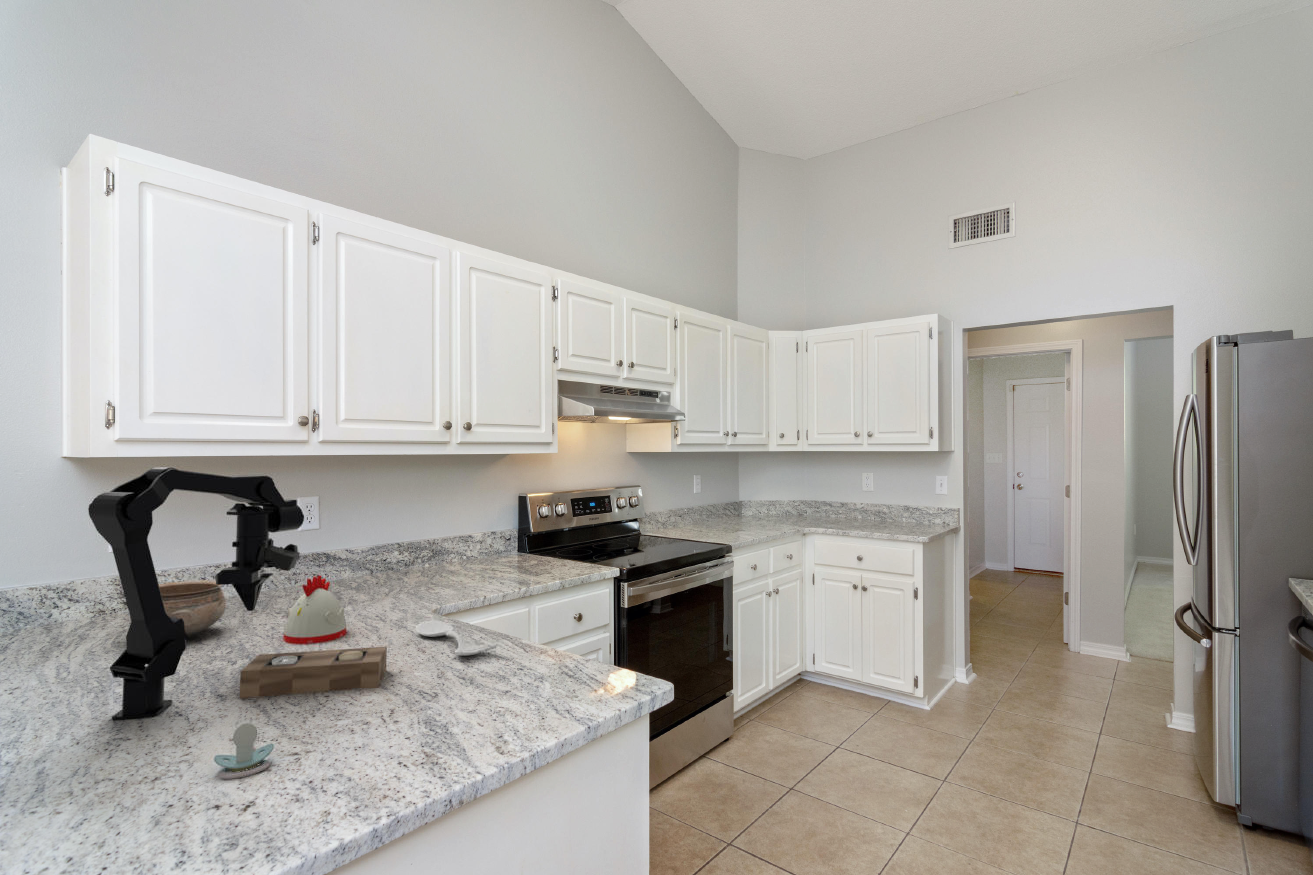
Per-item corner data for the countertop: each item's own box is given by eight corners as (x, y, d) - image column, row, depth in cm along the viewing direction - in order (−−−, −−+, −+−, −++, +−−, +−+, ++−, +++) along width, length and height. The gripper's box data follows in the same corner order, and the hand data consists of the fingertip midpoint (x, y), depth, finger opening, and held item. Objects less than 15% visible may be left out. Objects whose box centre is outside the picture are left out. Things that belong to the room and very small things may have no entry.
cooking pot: (130, 631, 159) (132, 583, 159) (220, 620, 171) (222, 575, 171) (127, 657, 140) (129, 602, 140) (229, 642, 151) (231, 591, 152)
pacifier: (274, 772, 91) (272, 754, 96) (276, 729, 91) (273, 713, 96) (213, 787, 87) (213, 767, 92) (214, 742, 87) (215, 724, 92)
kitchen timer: (269, 641, 153) (271, 579, 153) (313, 626, 166) (314, 569, 166) (317, 646, 149) (319, 582, 150) (358, 630, 163) (359, 572, 163)
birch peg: (360, 680, 125) (360, 657, 125) (335, 682, 124) (336, 658, 124) (364, 673, 130) (364, 650, 130) (341, 675, 128) (341, 651, 129)
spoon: (459, 666, 137) (460, 650, 137) (409, 633, 162) (410, 620, 162) (498, 658, 143) (498, 642, 143) (444, 627, 167) (444, 614, 167)
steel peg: (293, 686, 122) (293, 661, 122) (267, 688, 121) (268, 663, 121) (299, 678, 126) (300, 654, 127) (275, 680, 125) (275, 656, 125)
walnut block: (378, 687, 124) (378, 661, 124) (239, 697, 117) (240, 671, 118) (386, 670, 133) (386, 646, 133) (258, 679, 127) (259, 654, 127)
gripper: (279, 540, 124) (277, 620, 124) (308, 529, 142) (307, 598, 142) (215, 542, 121) (213, 623, 121) (253, 530, 140) (252, 600, 139)
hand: (250, 610), depth 131 cm, fingers closed
